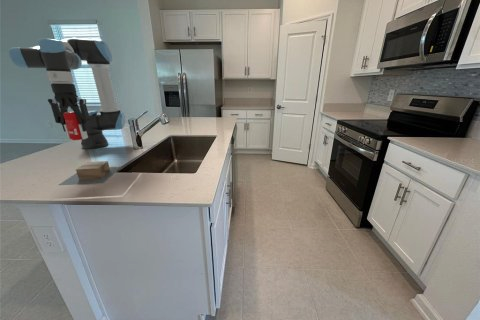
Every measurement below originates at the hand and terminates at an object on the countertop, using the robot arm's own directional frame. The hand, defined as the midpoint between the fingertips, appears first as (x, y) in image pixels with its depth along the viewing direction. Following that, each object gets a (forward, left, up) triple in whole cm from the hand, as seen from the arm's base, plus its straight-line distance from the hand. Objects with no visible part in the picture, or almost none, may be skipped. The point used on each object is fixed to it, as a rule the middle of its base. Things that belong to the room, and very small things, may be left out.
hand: (78, 138), depth 89 cm
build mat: (+2, +3, -18) cm, 18 cm away
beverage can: (0, 0, 0) cm, 0 cm away
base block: (+2, +4, -17) cm, 18 cm away
